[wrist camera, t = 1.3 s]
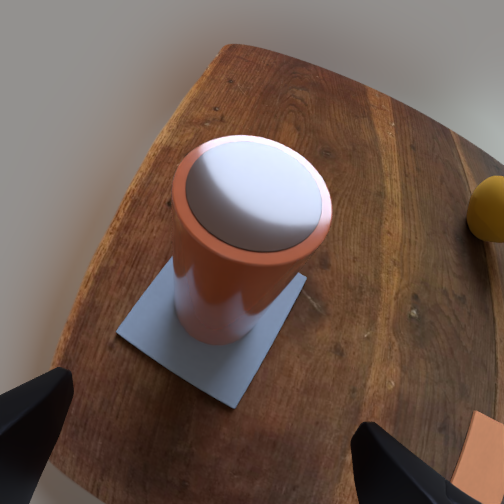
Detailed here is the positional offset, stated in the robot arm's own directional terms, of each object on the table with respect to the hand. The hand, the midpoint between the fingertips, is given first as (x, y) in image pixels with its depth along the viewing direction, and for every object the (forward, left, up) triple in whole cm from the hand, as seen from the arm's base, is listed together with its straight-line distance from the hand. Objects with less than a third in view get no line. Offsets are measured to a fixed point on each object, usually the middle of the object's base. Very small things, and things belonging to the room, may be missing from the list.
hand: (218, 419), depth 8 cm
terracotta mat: (+3, -31, -13) cm, 34 cm away
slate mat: (+7, +3, -13) cm, 16 cm away
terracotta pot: (+7, +3, -13) cm, 15 cm away
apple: (+34, -21, -14) cm, 43 cm away
